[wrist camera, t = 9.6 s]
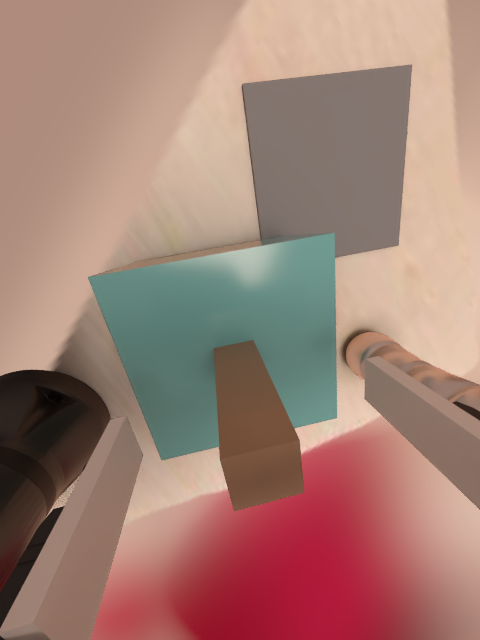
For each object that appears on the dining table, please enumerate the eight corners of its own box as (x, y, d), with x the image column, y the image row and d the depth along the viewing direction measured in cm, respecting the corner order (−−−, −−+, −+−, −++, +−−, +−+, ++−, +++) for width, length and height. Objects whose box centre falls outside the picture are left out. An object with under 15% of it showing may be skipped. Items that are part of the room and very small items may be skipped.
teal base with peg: (177, 384, 30) (127, 628, 11) (138, 261, 24) (-99, 334, 5) (293, 358, 31) (426, 540, 12) (282, 235, 25) (498, 223, 7)
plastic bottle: (353, 376, 34) (540, 540, 15) (330, 348, 32) (515, 500, 13) (388, 348, 33) (628, 484, 14) (367, 317, 31) (618, 430, 12)
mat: (264, 270, 27) (265, 270, 26) (241, 86, 21) (242, 83, 20) (395, 245, 28) (398, 245, 28) (408, 67, 22) (412, 64, 22)
